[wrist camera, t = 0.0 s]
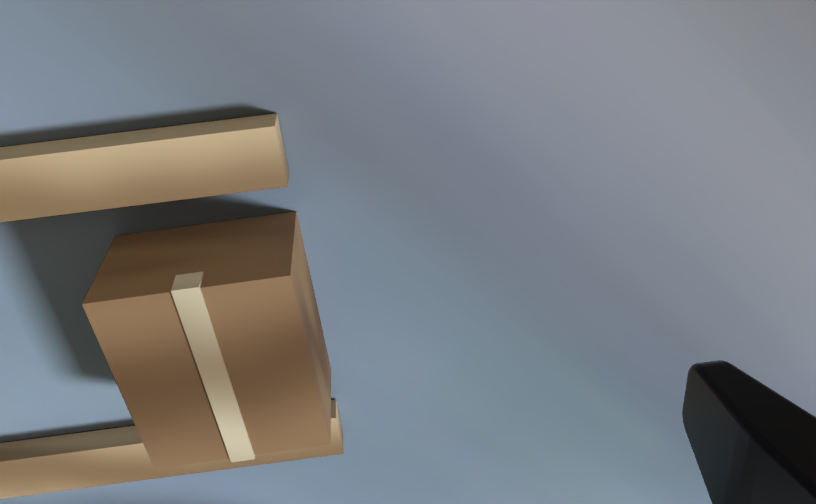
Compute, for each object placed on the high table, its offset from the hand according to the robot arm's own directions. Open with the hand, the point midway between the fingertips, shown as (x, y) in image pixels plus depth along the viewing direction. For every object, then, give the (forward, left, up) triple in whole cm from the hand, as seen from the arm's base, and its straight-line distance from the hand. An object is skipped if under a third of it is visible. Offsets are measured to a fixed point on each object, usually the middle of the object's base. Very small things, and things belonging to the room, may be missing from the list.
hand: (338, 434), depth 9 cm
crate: (-8, +5, -15) cm, 18 cm away
